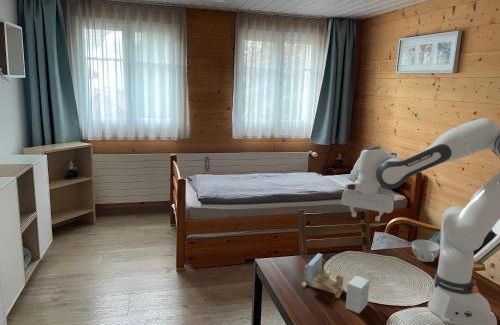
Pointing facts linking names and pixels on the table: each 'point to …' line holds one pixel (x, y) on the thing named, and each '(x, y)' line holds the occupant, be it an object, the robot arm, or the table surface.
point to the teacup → (425, 250)
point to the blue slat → (314, 267)
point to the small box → (357, 294)
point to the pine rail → (325, 282)
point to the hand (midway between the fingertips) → (365, 218)
